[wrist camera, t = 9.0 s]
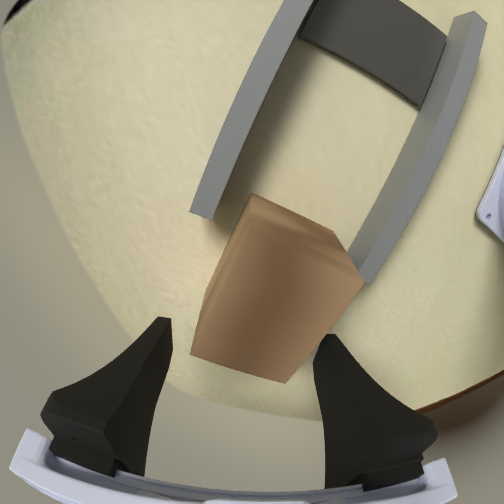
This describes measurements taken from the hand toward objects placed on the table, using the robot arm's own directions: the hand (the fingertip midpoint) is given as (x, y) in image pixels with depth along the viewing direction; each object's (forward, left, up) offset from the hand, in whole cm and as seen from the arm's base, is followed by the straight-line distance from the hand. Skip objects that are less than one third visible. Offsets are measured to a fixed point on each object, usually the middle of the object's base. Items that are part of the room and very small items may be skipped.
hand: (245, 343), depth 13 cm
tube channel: (0, -13, -3) cm, 13 cm away
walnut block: (0, -3, -3) cm, 4 cm away
